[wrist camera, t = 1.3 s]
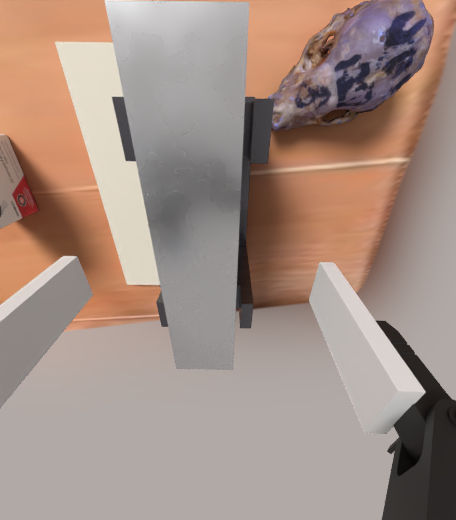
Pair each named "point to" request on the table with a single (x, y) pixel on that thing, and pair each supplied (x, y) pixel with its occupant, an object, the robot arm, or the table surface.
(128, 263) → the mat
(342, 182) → the table surface
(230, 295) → the whetstone
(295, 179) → the table surface
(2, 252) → the table surface
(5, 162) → the ink box
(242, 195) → the stand
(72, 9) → the table surface
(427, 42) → the purple rock
